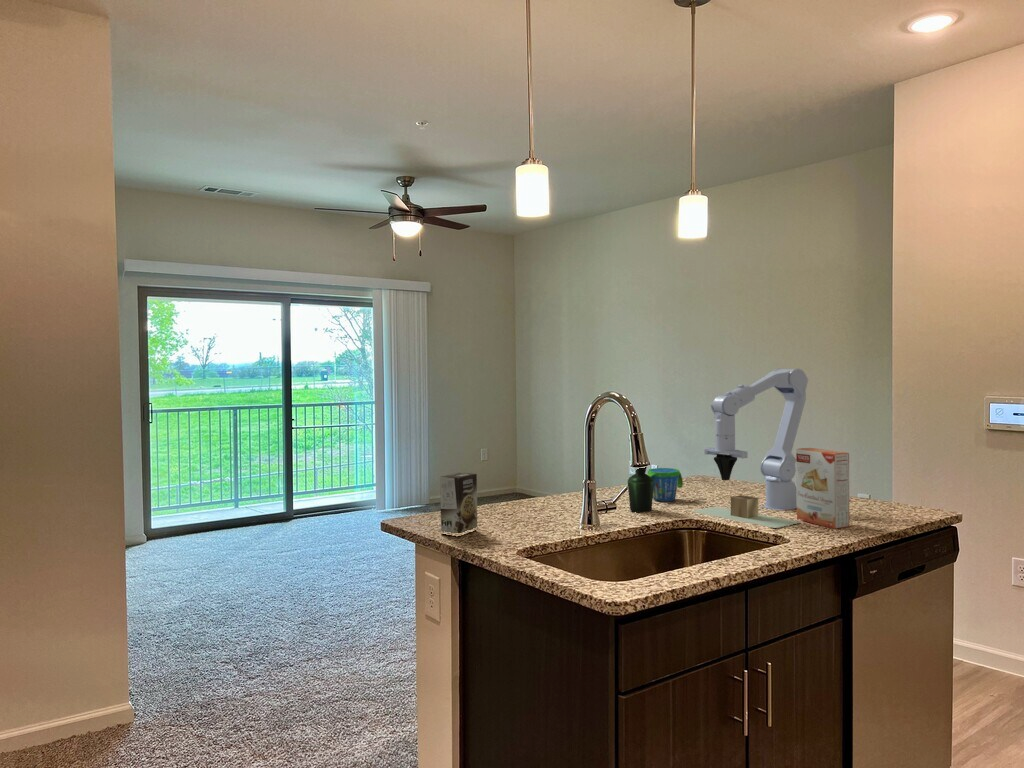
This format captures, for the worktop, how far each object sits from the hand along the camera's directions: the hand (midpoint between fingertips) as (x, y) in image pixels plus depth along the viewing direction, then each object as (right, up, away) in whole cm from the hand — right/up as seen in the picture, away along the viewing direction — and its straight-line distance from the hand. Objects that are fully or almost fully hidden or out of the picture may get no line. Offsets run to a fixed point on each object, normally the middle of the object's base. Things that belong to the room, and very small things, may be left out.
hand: (725, 480), depth 221 cm
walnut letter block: (+2, -7, -3) cm, 8 cm away
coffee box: (-79, -12, -21) cm, 83 cm away
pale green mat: (+3, -10, -6) cm, 12 cm away
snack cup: (-14, -10, +25) cm, 30 cm away
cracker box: (+23, -11, -16) cm, 29 cm away
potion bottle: (-25, -11, +6) cm, 28 cm away
